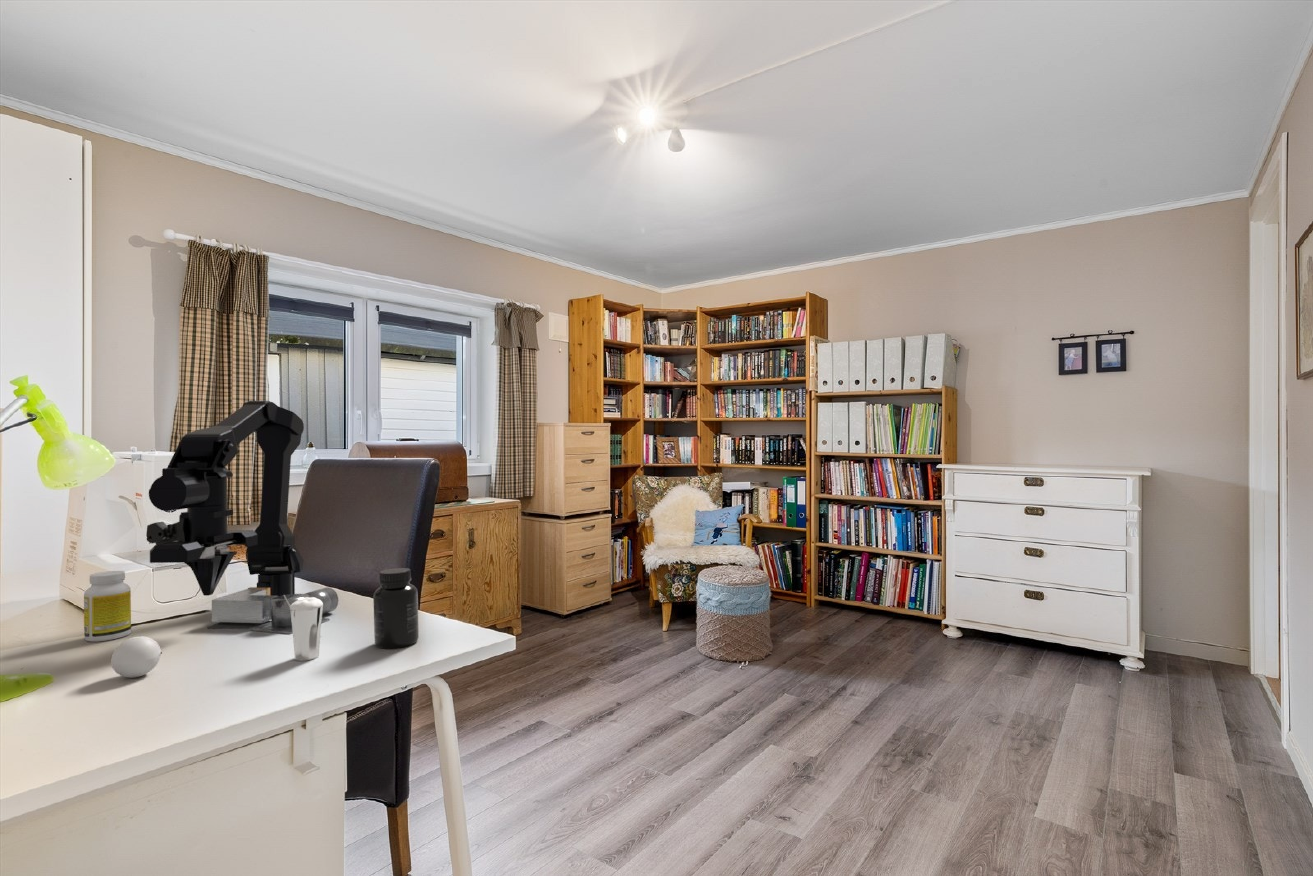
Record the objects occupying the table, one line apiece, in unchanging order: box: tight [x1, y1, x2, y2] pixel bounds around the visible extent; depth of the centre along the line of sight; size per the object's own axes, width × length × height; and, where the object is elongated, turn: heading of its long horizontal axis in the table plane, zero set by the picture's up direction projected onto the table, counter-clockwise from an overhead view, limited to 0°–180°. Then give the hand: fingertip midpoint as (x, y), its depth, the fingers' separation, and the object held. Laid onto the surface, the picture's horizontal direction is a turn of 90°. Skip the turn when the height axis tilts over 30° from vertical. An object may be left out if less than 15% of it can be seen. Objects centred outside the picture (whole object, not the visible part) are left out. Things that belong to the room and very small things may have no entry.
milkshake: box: [284, 595, 323, 662], centre depth 100 cm, size 4×5×10 cm
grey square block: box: [211, 586, 278, 623], centre depth 122 cm, size 10×10×4 cm
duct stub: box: [249, 586, 339, 635], centre depth 121 cm, size 14×9×5 cm, turn 164°
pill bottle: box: [83, 570, 132, 643], centre depth 112 cm, size 6×6×11 cm
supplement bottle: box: [372, 567, 420, 650], centre depth 107 cm, size 7×7×12 cm
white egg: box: [110, 635, 163, 679], centre depth 94 cm, size 8×6×6 cm
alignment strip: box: [207, 620, 271, 629], centre depth 119 cm, size 10×4×1 cm, turn 89°
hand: (208, 595), depth 113 cm, fingers closed
